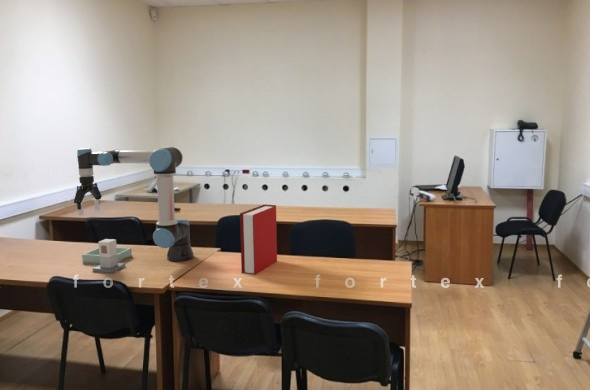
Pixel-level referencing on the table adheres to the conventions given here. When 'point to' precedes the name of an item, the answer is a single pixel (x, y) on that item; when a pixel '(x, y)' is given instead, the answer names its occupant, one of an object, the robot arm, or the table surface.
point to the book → (258, 238)
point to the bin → (94, 258)
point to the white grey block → (108, 253)
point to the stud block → (108, 270)
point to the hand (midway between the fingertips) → (89, 212)
